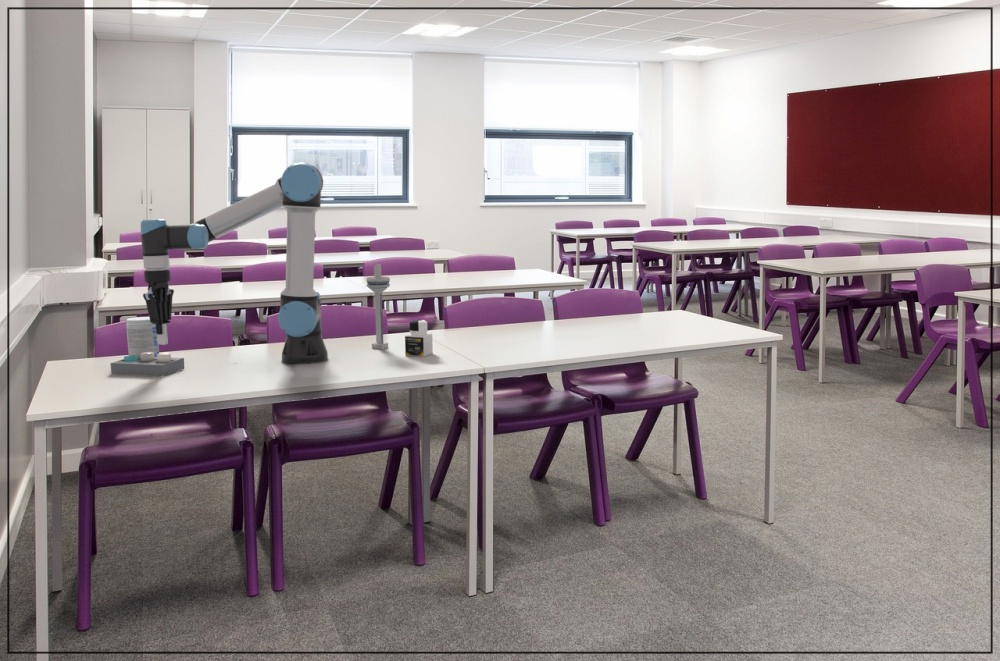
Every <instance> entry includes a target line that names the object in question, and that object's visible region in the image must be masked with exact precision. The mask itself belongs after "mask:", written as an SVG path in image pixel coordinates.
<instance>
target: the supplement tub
mask: <svg viewBox="0 0 1000 661" xmlns="http://www.w3.org/2000/svg"><path fill="white" fill-rule="evenodd" d="M125 328H126V337H127V338H126V339H127V349H128V350H127V352H128V356H130V355H136V356H140V354H141V353H145V352H153V353H154V357H157V354H159V353H160V347H159V346H160V344H158V342H157V333H156V324H152V323H151V322H150V317H149V316H138V317H137V316H136V317H128V318H126V327H125Z"/></svg>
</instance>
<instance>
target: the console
mask: <svg viewBox="0 0 1000 661" xmlns="http://www.w3.org/2000/svg"><path fill="white" fill-rule="evenodd" d="M184 368H185V358H184V357H174V356H173V357H172V356H171V362H168V363H158V357H154V361H152V362H141V356H138V360H136V361H133V362H132V361H124V358H123V359H120V360H117V361H116V360H115V361H113V362H110V371H111V372H110V373H111V375H122V376H123V375H126V376H127V375H128V376H129V375H130V376H147V377H148V376H149V377H150V376H152V377H165V376H168V375H170V374H173V373H176V372H179V371H181V370H182V371H183V370H185V369H184Z"/></svg>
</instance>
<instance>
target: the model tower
mask: <svg viewBox="0 0 1000 661" xmlns="http://www.w3.org/2000/svg"><path fill="white" fill-rule="evenodd" d="M373 271H374V272H373V273H374V274H373V275H374V276H367V277H366V280H365V281H366V287H367V288H369V289H370V291H372V292H373V293H374V303H375V305H374V306H375V307H374V309H375V311H374V312H375V338H376V339H375V340H376V342H374V343H371V349H372V348H374V349H373V350H375V349H376V350H383V349H387V347H388V348H389V342H384V321H383V320H384V319H383V314H384V313H383V311H384V310H383V292H384V291H386V290H387V289H388V288H389V287H391V284H390V280H391V279H390V277H389V276H382V264H374V265H373Z"/></svg>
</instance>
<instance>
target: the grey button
mask: <svg viewBox="0 0 1000 661" xmlns="http://www.w3.org/2000/svg"><path fill="white" fill-rule="evenodd" d="M140 356H141V362H152V361H154V353H153V352H145V353H141V354H140Z"/></svg>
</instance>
